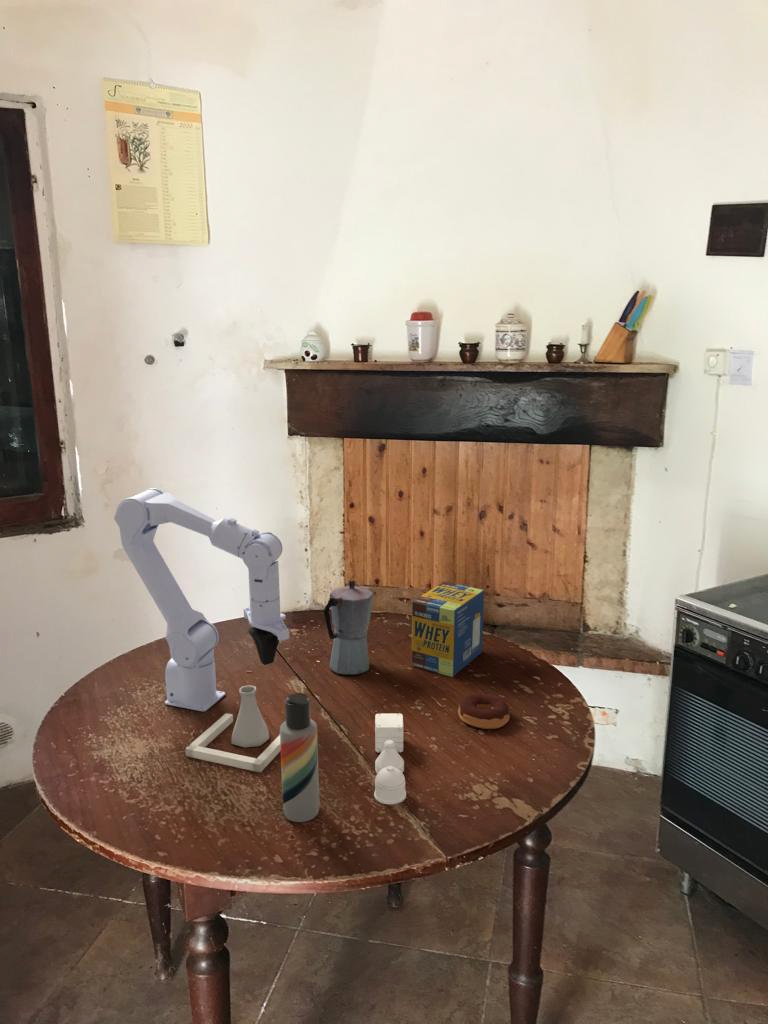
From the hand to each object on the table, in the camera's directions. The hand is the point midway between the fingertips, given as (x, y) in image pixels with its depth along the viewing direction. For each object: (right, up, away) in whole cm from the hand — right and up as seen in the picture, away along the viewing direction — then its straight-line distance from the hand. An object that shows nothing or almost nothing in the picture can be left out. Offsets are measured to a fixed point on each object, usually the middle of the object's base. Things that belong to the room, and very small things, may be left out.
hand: (267, 662), depth 156 cm
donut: (+42, -11, -2) cm, 43 cm away
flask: (-2, -13, -8) cm, 15 cm away
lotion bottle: (+10, -18, -30) cm, 36 cm away
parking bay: (-3, -13, -10) cm, 16 cm away
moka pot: (+15, -5, +20) cm, 26 cm away
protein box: (+37, -4, +24) cm, 45 cm away
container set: (+24, -15, -18) cm, 34 cm away
